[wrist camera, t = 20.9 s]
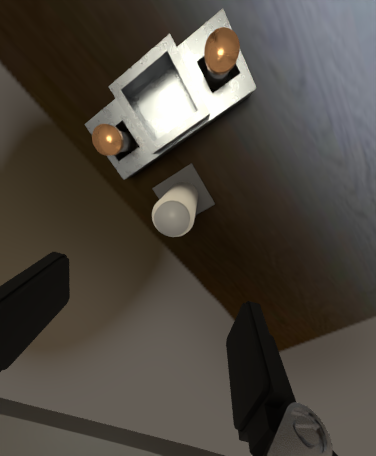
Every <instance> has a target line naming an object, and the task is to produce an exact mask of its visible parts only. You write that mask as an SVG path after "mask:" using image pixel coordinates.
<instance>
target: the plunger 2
mask: <svg viewBox="0 0 376 456" xmlns="http://www.w3.org/2000/svg"><path fill="white" fill-rule="evenodd" d="M239 50H240V45H239V40H238V37H237V35H236V34H235V32H234V31H232V30H231V29H229V28H226V27H221V28H218V29H216V30H214V31H213V32H212V33H211V34H210V35H209V37H208V39H207V41H206V44H205V49H204V59H205V64H206V66H207V83H208V85H209V86H210V87H211V88H212V89H219V88H221V87H222V86H223V85H224V84H225V82H226V79H227V76H228V73H229V71H230V70H231V69H232V68H233V67H234V65H235V63H236V61H237V58H238V55H239Z"/></svg>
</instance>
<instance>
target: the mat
mask: <svg viewBox="0 0 376 456" xmlns="http://www.w3.org/2000/svg"><path fill="white" fill-rule="evenodd" d="M179 182H188V183H191V184H192V185H193V186H194V187H195V188H196V190H197V192H198V201H197V207H196V213H195V215H197V214H199V213H200V212H202V211H204V210H206V209H207V208H209V207H211V206H213V205H215V203H214V201H213V199H212V197H211V196H210V194H209V192H208V191H207V189H206V187H205V185H204V184H203V182H202V180H201V178H200V177H199V175H198V173H197V171H196V170H195V168H194V166H193V165H192V163H191V164H190V165H188V166H186V167H185V168H183V169H182V170H180V171H179V172H177V173H176V174H174V175H172V176H171V177H169V178H168V179H166V180H165V181H163V182H162V183H160V184H159V185H157V186H155V187H154V188H152V189H153V190H154V192H155V193H156V195H157V196H158V198H159V199H161V198H162V197H163V196H164V195H165V194H166V193H167V192H168V191H169V190H170V189H171V188H172V187H173V186H174V185H175V184H176V183H179Z"/></svg>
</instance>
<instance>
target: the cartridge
mask: <svg viewBox="0 0 376 456" xmlns="http://www.w3.org/2000/svg"><path fill="white" fill-rule="evenodd" d="M197 201H198V192H197V190H196V188H195V187H194V186H193V185H192V184H191V183H188V182H179V183H176V184H175V185H174V186H173V187H172V188H171V189H170V190H169V191H168V192H167V193H166V194H165V195H164V196H163V197H162V198H161V199H160V200H159V201H158V202H157V203H156V204H155V206H154V208H153V211H152V220H153V223H154V225H155V227H156V228H157V229H158V230H159V231H160V232H161V233H163V234H164V235H167V236H171V237H178V236H182V235H184V234H186V233H187V232H188V231H189V230H190V229H191V228H192V226H193V223H194V218H195V213H196V207H197Z"/></svg>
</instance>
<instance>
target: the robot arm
mask: <svg viewBox="0 0 376 456" xmlns="http://www.w3.org/2000/svg"><path fill="white" fill-rule="evenodd" d="M68 300H69V259H68V258H67V256H66V255H65V254H61V253H57V252H52V253H50V254H48V255H47V256H45V257H44V258H42V259H41V260H39V261H38V262H36V263H35V264H33V265H32V266H30V267H29V268H28V269H26V270H24V271H23V272H21V273H20V274H18V275H17V276H15V277H14V278H12V279H10V280H9V281H7V282H6V283H4V284H3V285H1V286H0V372H1V371H2V370H5V369H7V368H8V367H9V366H10V365H11V364H12V363H13V362H14V361H15V360H16V359H17V357H18V356H19V355H20V354H21V353H22V352H23V351H24V350H25V349H26V348H27V347H28V345H29V344H30V343H31V342H32V341H33V340H34V339H35V338H36V337H37V336H38V334H39V333H40V332H41V331H42V330H43V329H44V328H45V327H46V326H47V325H48V324H49V322H50V321H51V320H52V319H53V318H54V317H55V316H56V315H57V314H58V313H59V312H60V311H61V309H62V308H63V307H64V306H65V305H66V304H67V302H68ZM226 347H227V357H228V367H229V378H230V387H231V388H230V389H231V399H232V409H233V420H234V426H235V428H236V429H238V433H239V440H241V441H246V442H249V449H250V453H251V454H252V455H251V456H338V455H337V454H336V453H335V452H334V451H333V450H332V442H331V438H330V435H329V433H328V431H327V429H326V427H325V425H324V424H323V422H322V421H321V419H320V418H319V417H318V416H317V415H316V414H315V413H314V412H313V411H312V410H311V409H310V408H308V407H307V406H305V405H303V404H301V403H297V402H296V401H295V397H294V395H293V392H292V389H291V386H290V383H289V380H288V377H287V375H286V372H285V369H284V366H283V363H282V360H281V357H280V355H279V352H278V349H277V346H276V343H275V340H274V338H273V337H272V335H270V334H269V331H268V328H267V325H266V322H265V319H264V316H263V313H262V310H261V307H260V305H259V304H257V303H253V302H249V301H247V302H246V303H243V304H242V306H241V308H240V311H239V313H238V315H237V317H236V319H235V322H234V324H233V326H232V328H231V331H230V333H229V335H228V337H227V342H226ZM0 456H224V455H221V454H217V453H214V452H210V451H207V450H203V449H200V448H196V447H192V446H189V445H185V444H181V443H177V442H173V441H169V440H165V439H161V438H158V437H154V436H150V435H146V434H142V433H138V432H135V431H131V430H127V429H123V428H119V427H115V426H111V425H107V424H103V423H99V422H95V421H92V420H88V419H84V418H80V417H76V416H72V415H68V414H64V413H60V412H56V411H52V410H48V409H44V408H40V407H36V406H32V405H27V404H23V403H20V402H15V401H12V400H8V399H3V398H0Z"/></svg>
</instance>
